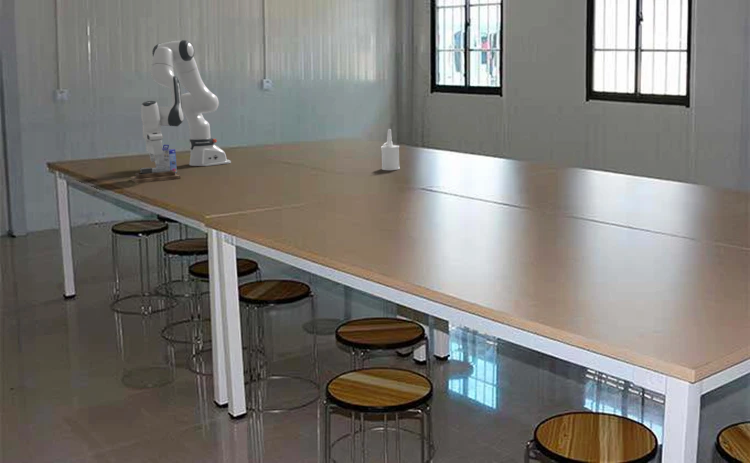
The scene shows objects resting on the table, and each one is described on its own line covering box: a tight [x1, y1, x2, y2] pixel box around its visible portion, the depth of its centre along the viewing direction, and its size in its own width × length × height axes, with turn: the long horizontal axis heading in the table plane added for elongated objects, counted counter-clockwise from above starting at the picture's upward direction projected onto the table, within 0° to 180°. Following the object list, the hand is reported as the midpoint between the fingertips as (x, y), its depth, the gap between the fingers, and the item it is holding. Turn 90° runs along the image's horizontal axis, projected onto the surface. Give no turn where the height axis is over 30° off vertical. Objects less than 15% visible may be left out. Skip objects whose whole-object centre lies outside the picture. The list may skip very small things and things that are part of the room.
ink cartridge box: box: [155, 144, 178, 174], centre depth 468 cm, size 10×6×14 cm, turn 63°
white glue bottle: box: [380, 128, 401, 171], centre depth 453 cm, size 10×9×20 cm
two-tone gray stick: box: [139, 167, 170, 174], centre depth 448 cm, size 14×4×4 cm, turn 116°
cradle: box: [130, 170, 181, 184], centre depth 449 cm, size 22×12×4 cm, turn 116°
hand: (155, 162), depth 448 cm, fingers open, 8 cm apart
